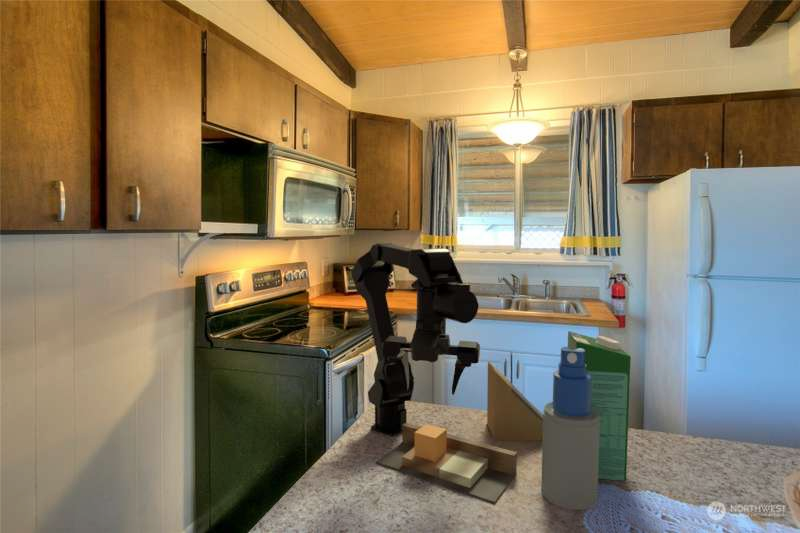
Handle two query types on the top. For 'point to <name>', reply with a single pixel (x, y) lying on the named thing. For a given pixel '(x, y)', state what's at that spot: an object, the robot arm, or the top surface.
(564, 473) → the spray bottle
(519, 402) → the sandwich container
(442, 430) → the block
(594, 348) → the milk carton
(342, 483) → the top surface
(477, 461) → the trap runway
